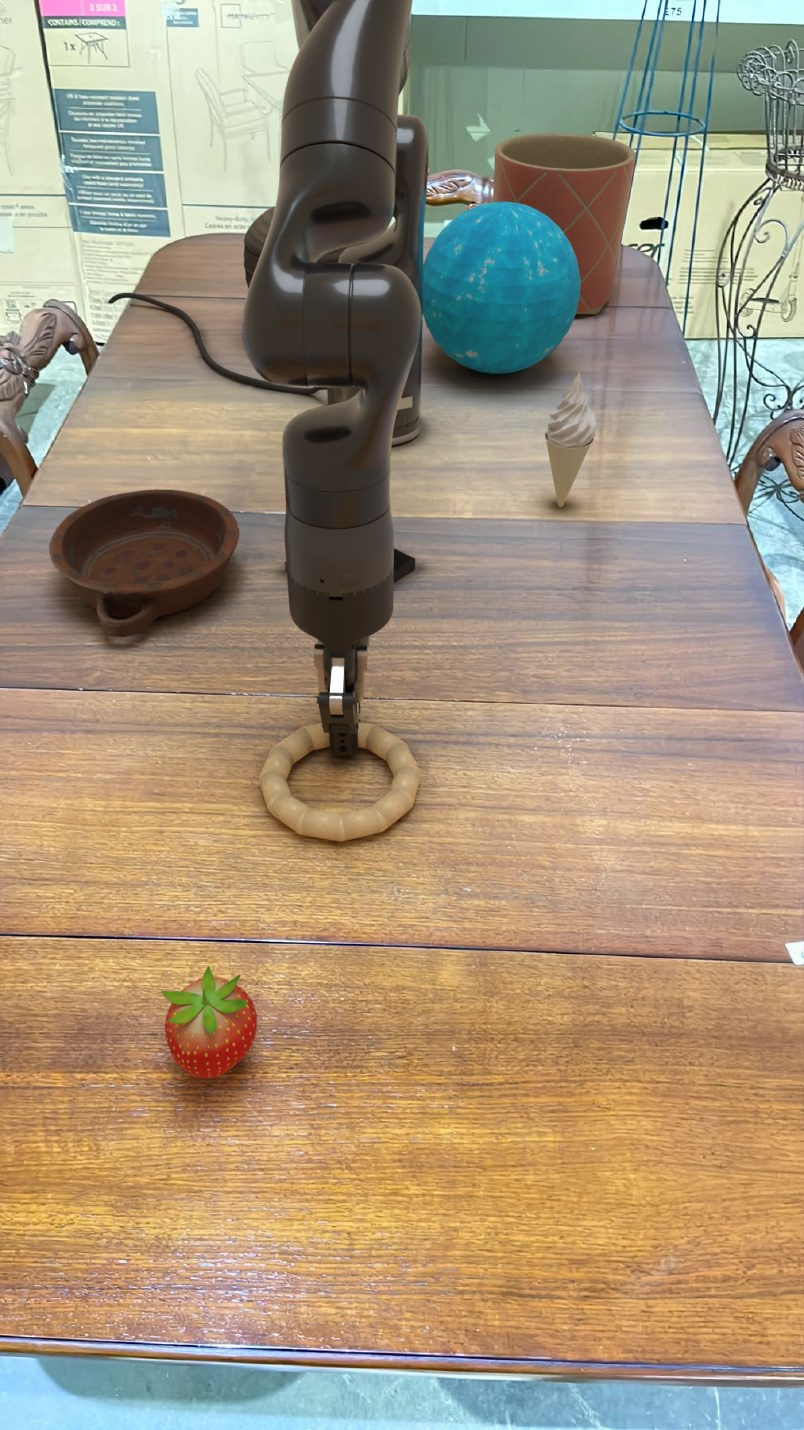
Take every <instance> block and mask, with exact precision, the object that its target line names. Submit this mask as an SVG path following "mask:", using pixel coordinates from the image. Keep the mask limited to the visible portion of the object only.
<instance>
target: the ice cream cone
mask: <svg viewBox="0 0 804 1430" xmlns="http://www.w3.org/2000/svg"><path fill="white" fill-rule="evenodd" d="M561 396H562V399H563V400H562V401H561V403H559V404H558V405H557V406H556V407H555V408H556V409H557V410H555V411H553V412H551V413H549V417H550V418H551V419H552V421H549V423H548V424H547V428H548V429H546V431H545V432H544V434H543V435H544V436H543V437H544V439H545V441H546V446H547V452H548V459H549V464H550V470H551V475H552V480H553V485H554V491H555V497H556V503H557V506H558V507H559V508H563V507H564V505H565V503H566V500H567V498H568V495H569V493H570V491H571V489H572V487H573V486H574V485H573V484H574V482H575V481H576V478H577V476H578V474H579V471H580V469H581V467H582V465H583V462H584V460H585V458H586V456H587V454H588V451H589V450H590V447H591V445H592V444H593V442H594V440H595V436H596V428H597V423H596V422H597V421H596V414H595V413H594V411H593V410H592V409H591V408H590V407H589V398H588V395H587V393H586V391H585V388H584V384H583V381H582V378H581V373H580V371H577V373H576V375H575V377H574V379H573V381H572V383H571V384H570V386H569V388H568V389H567V390H566V391H565V393H564V394H563V395H561Z"/></svg>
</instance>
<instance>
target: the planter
mask: <svg viewBox="0 0 804 1430" xmlns="http://www.w3.org/2000/svg"><path fill="white" fill-rule="evenodd" d="M636 157H637V154H636V151H635V150H634V149H633V148H632V147H630V146H629V145H627V144H625V143H623V142H620V141H618V140H615V139H614V140H613V139H612V138H607V137H603V136H599V135H593V134H592V135H591V134H584V133H576V132H575V133H574V132H537V133H528V134H522V135H521V134H520V135H516V136H513V137H510V138H506V139H504V140H502V141H500V142H499V143H497V144H496V146H495V148H494V164H493V166H494V167H493V168H494V169H493V191H492V192H493V193H492V202H512V203H519V204H523V205H527V206H530V207H532V208H534V209H536V210H538V211H539V212H541V213H543V214H545V215H546V216H548V217H549V218H550V219H551V220H552V221H553V222H554V223H555V224H556V225H557V226H559V228H560V229H561V230H562V231H563V233H564V234H565V236H566V237H567V239H568V240H569V242H570V243H571V246H572V248H573V251H574V253H575V256H576V258H577V263H578V268H579V274H580V298H579V303H578V307H577V311H576V314H575V315H597V314H599V313H600V312H601V310H602V309H603V307H604V306H605V304H607V302H608V301H609V300H610V299H611V297H612V294H613V291H614V286H615V279H616V274H617V267H618V263H619V257H620V250H621V244H622V240H623V233H624V228H625V223H626V217H627V211H628V205H629V200H630V194H631V187H632V183H633V182H632V181H633V175H634V170H635V164H636Z"/></svg>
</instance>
